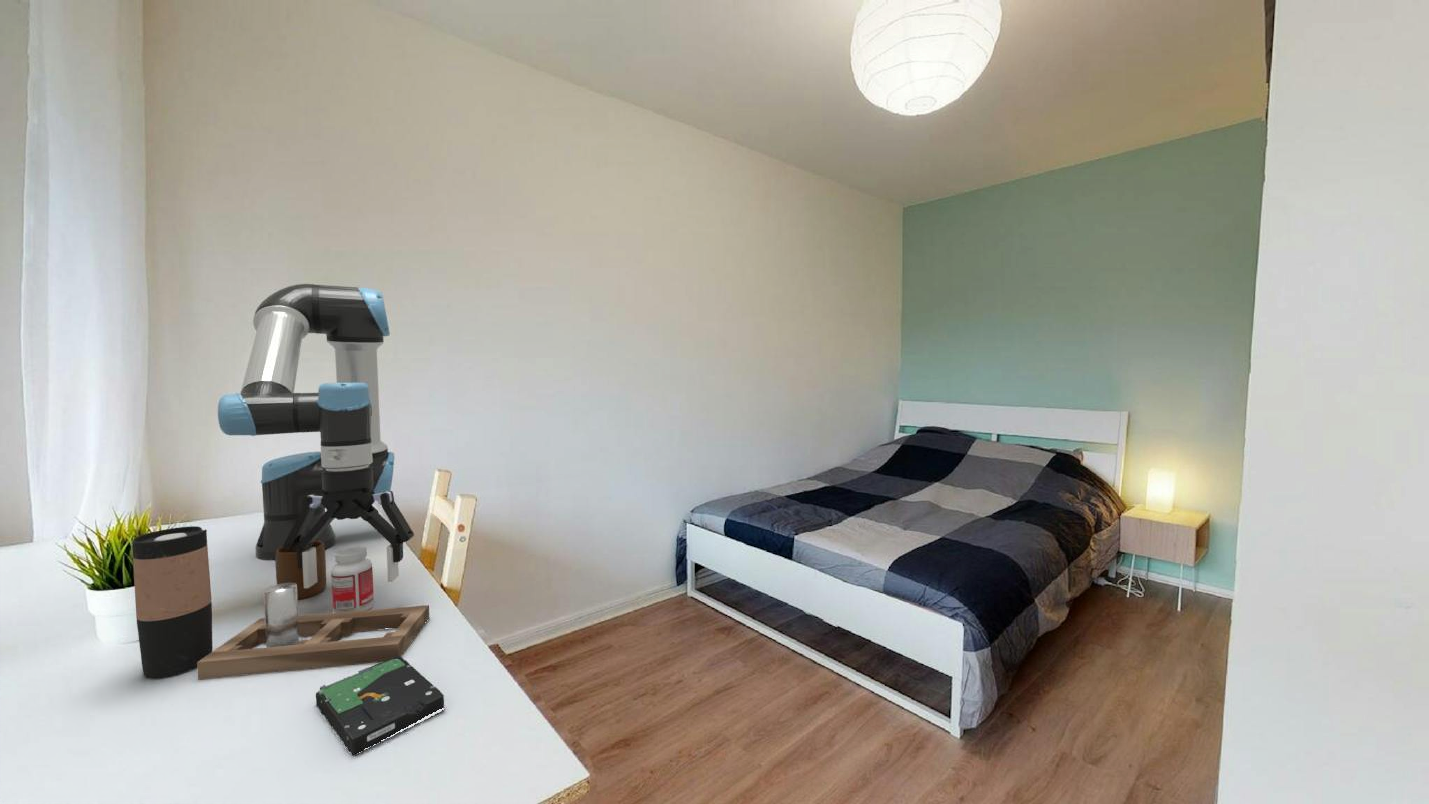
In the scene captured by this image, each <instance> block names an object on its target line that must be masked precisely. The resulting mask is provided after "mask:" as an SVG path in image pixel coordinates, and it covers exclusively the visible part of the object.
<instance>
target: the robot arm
mask: <svg viewBox="0 0 1429 804" xmlns="http://www.w3.org/2000/svg"><path fill="white" fill-rule="evenodd" d="M252 324H253V327H254V329H255V330H256V333H255V337H254V341H253V344H252V348H251V352H250V355H249V359H248V363H247V367H246V370H245V374H244V378H243V381H242V385H241V390H240V392H236V393H233V394H232V393H231V394H224V395H223V396H221V397H220V399H219V401H218V403H217V404H218V405H217V420H218V425H219V428H220V430H221V432H222V433H223V434H224V435H227V436H250V437H251V436H252V437H254V436H255V437H256V436H262V435H263V436H265V435H279V434H280V435H281V434H282V435H283V434H295V433H298V434H299V433H319V434H320V451H309V452H302V453H301V452H300V453H295V454H291V455H287V456H285V455H284V456H281V457H277V458H274V459H271V460H268V461H267V462H265V463H264V464H263V465H262V467H261V480H260V484H261V487H262V490H261V491H262V505H263V506H262V507H263V526H262V528H261V530H260V533H259V537H258V539H257V542H256V545H255V555H256V558H258V559H262V560H275V559H276V550H277V549H279V548H280V547H284V548H285V549H293V550H295V551H296V552H297V564H298V568H299V569H303V581H304V588H309V587H311V586H312V585H314V584H315V583H317V562H316V547H312V548H309V547H310V546H312V543H313V542H314V541H322V542H323V543H324V548H325V550H326V549H328V548H331V547H332V546H334V545H335V544H336V533H335V531H334V528H333V526H332V525H331V523H332V522H333V521H334V520H335V519H337V521H339V520H346V519H349V520H357V519H359V518H361V519H362V521H365V522H367V523H368V524H369V525H370V526H371V527H372V528H373V529H375V530H376V532H377V533H379V534H380V535H381V536H382V537H383V538H384V539H385V540H386V541H387V542H388V543H389V545H388V546H386V565H387V583H393V582H394V581H395V580H396V579H397V578H399V576H400V575H399V574H400V572H399V563H400V562H401V561H402V560H403V559H404V543H405V542H406V543H407V542H409V541H410V540H411V539H412V538H413V537H414V536H415V533H414V531H413V530H412V528H411V527H410V525H409V523H408V521H407V520H406V518H405V517H404V515H403V513H402V512H401V510H400V508H399V507H398V505H397V504H396V502H395V496H394V492H393V491H392V490H391V489H392V484H393V478H394V477H393V476H394V468H395V467H394V465H395V453H394V452H391V451H388V450H389V447H388V444H386V443H384V442H383V441H382V440H381V419H380V417H381V416H380V395H379V392H380V391H379V371H378V369H379V368H378V349H379V348H380V347H381V346H383V344H384V343H385V342H384V337H388V336H391V335H390V333H391V332H390V329H389V323H388V316H387V311H386V307H385V301H384V296H383V294H382V293H381V291H379V290H377V289H373V288H366V287H360V286H357V287H356V286H355V287H354V286H341V285H326V284H313V283H300V284H299V283H297V284H293V285H290V286H286V287H283V288H281V289H278V290H277V291H275V292H273V293H272V294H270V295H268V297H266V298H265V299H263V301H262V302H261V303H260V304H259V305H258V306H257V308H256V310H255V312H254V315H253V319H252ZM308 334H317V335H318V334H319V335H321V334H323V335H326V342H327V344H329V345H330V346H331V347H333V349H334V353H335V354H334V355H335V359H334V360H335V374H336V375H335V376H336V382H323V383H321V384H320V385H319V386H318V392H295V386H296V381H297V380H296V379H297V372H298V368H299V360H300V355H301V354H300V353H301V348H302V340H303V339H305V337H306V336H307V335H308ZM375 501H376V502H377V503H378V505H380V506H381V508H382V510H383V511H384V513H385V515H386V517H387V518H388V520H389V521H390V523H389V522H388V520H386V518H384V517H383V516H382V515H381V514H380V513H379V510H378V509H377V508H376V507H375V506H374V505H373V504H374V503H375ZM391 524H392V525H391Z"/></svg>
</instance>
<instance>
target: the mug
mask: <svg viewBox="0 0 1429 804" xmlns="http://www.w3.org/2000/svg"><path fill="white" fill-rule="evenodd" d="M312 547H316V562H317V583H315V584H314V585H312V586H311V587H309V588H304V581H303V569H299V568H298V564H297V552H296V551H295V550H293V549H285V548H284V547H280V548H279V549H277V550H276V559H274V560H275V579H276V585H278V584H282V583H296V584H297V598H298V600H303V599H306V598H310V597H313V596H316V595H318V594H321V592H323V591H325V588H326V586H327V565H326V564H327V563H326V561H327V560H326V549H325V548H324V543H323V542H322V541H314V542H313V543H312V546H310V547H309V548H312Z"/></svg>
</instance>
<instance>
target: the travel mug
mask: <svg viewBox="0 0 1429 804" xmlns="http://www.w3.org/2000/svg"><path fill="white" fill-rule="evenodd" d="M207 531H208V529H203V528H202V527H200V526H194V525H193V526H191V525H190V526H182V527H181V526H179V527H173V528H172V527H171V528H166V529H162V530H156V531H151V532H148V533H147V532H146V533H144V534H141V535H139V536H136V537H134V538H133V539H132V541H131V543H132V544H131V547H132V563H133V565H132V566H133V581H134V582H133V583H134V597H135V598H134V599H135V602H134V603H135V615H136V616H135V617H136V627H137V635H138V641H139V650H140V659H141V667H142V668H141V669H142V674H143V676H144V678H145V679H149V680H159V679H166V678H171V677H176V676H179V675H182V674H184V673H185V674H186V673H187V672H190V671H194V670H196V669H197V662H198V661H200V660H201V659H203V658H204V657H205V656H207V655H208V654H210V653H211V652H213V603H212V598H213V597H212V590H211V589H212V588H211V574H210V561H209V560H210V559H209V550H208V549H209V548H208V538H207V537H208V534H207V533H208V532H207Z"/></svg>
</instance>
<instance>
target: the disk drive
mask: <svg viewBox="0 0 1429 804" xmlns="http://www.w3.org/2000/svg"><path fill="white" fill-rule="evenodd" d="M315 704H316V706H317V708H318V709H319V711H320V712H321V715H323V717H325V719H326V720H327V722H328V723H329V725H330V726H331V728H332V729H334V731H335V733H336V735H337V736H338V735H339V736H338V737H339V738H340V740H341V741H342V743H343V742H344V743H343V744H344V746H345V748H346V747H347V748H348V749H347V748H346V749H347V751H348V750H350V751H349V752H351V753H352V754H353V755H355V756H357V755H358V754H357V753H359V752H361V751H363V750H364V749H365V748H368V747H370V746H373V745H374V744H377V743H379V742H381V740H383V739H386V738H387V737H390V736H391V735H393V734H395V733H396V732H398V731H400V730H401V729H404V728H406V727H408V726H409V725H411V724H413V723H416V722H417V721H418V720H421V719H422V718H424V717H425V716H428V715H429V714H432V713H433V712H436V711H437V710H439V709H442V708H443V707H444V708H445V695H444V694H443V692H441V690H440V689H438V688H437V687H436V686H435V685H434V684H433V683H432V682H430V681H429V680H427V679H426V677H425V676H423V675H422V674H421V673H420V671H418V670H417V669H416V668H414V667H413V666H412V664H410V663H409V662H408V661H407V660H406V659H404V658H403V656H396V657H394V658H391V659H389V660H386V661H381V662H378V663H376V664H374V665H372V666H368V667H365V668H364V669H361V670H359V671H358V673H355V674H352V675H351V676H347V677H344V678H343V679H340V680H338V681H335V682H333V683H330V684H329V685H326V684H323V685H322V686H320V687H319V690H318V691H317V692H316V693H315ZM381 743H382V742H381ZM379 744H380V743H379ZM377 745H378V744H377ZM373 747H374V746H373ZM363 752H364V751H363ZM351 753H350V754H351ZM361 753H362V752H361ZM352 754H351V755H352ZM356 754H357V755H356ZM359 754H360V753H359ZM353 755H352V756H353Z"/></svg>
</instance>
